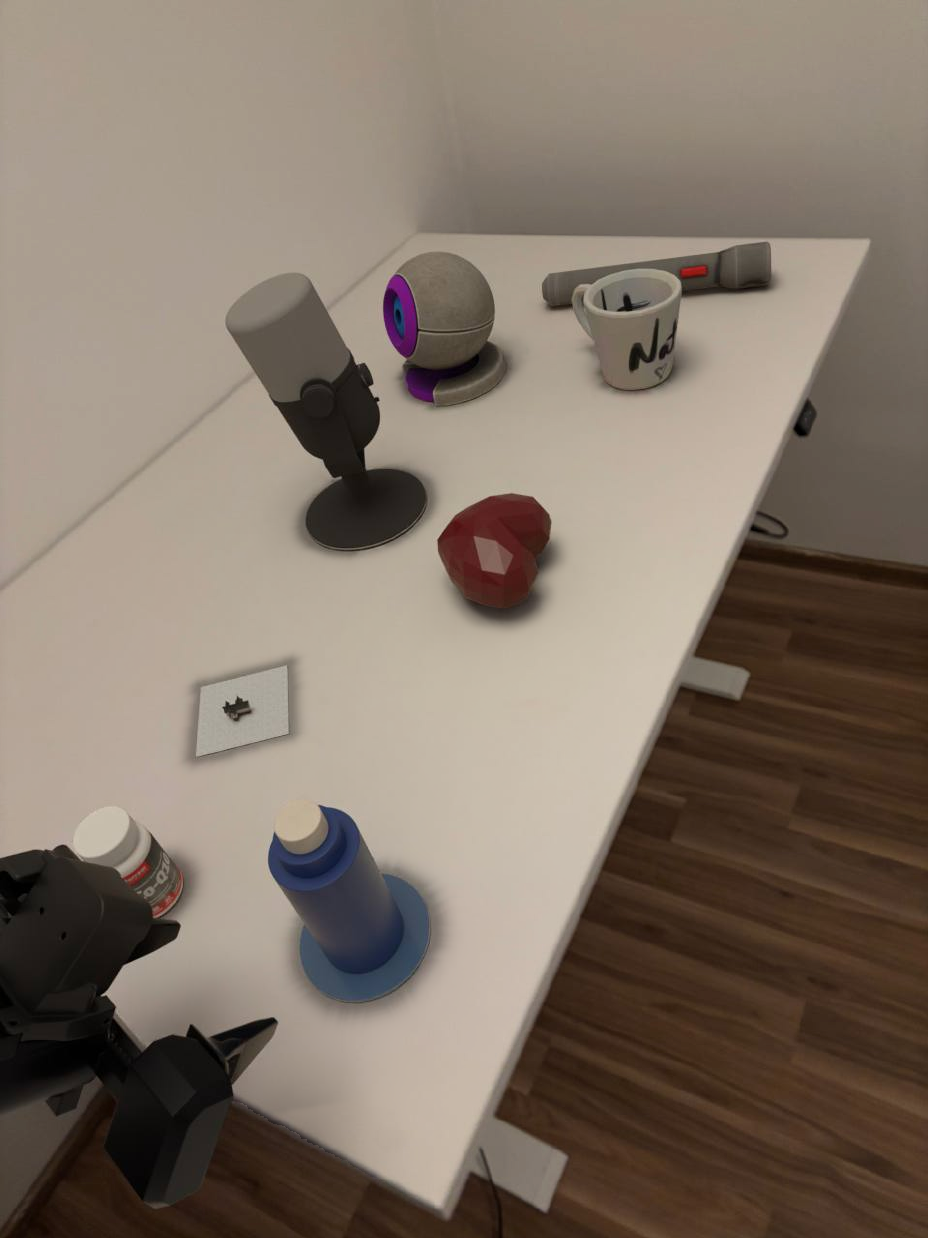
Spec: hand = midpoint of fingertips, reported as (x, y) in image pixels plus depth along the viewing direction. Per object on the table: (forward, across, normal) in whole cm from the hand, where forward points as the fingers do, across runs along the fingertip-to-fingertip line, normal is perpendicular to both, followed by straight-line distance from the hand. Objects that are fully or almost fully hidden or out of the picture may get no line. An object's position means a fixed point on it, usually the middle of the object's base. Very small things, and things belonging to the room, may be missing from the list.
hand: (223, 975), depth 52 cm
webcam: (+53, +43, -40) cm, 79 cm away
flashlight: (+71, +31, -59) cm, 97 cm away
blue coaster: (+12, 0, 0) cm, 12 cm away
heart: (+35, +15, -22) cm, 44 cm away
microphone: (+36, +34, -23) cm, 54 cm away
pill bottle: (+7, +16, +6) cm, 18 cm away
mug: (+59, +25, -47) cm, 80 cm away
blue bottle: (+12, 0, 0) cm, 12 cm away
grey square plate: (+18, +24, -5) cm, 30 cm away
